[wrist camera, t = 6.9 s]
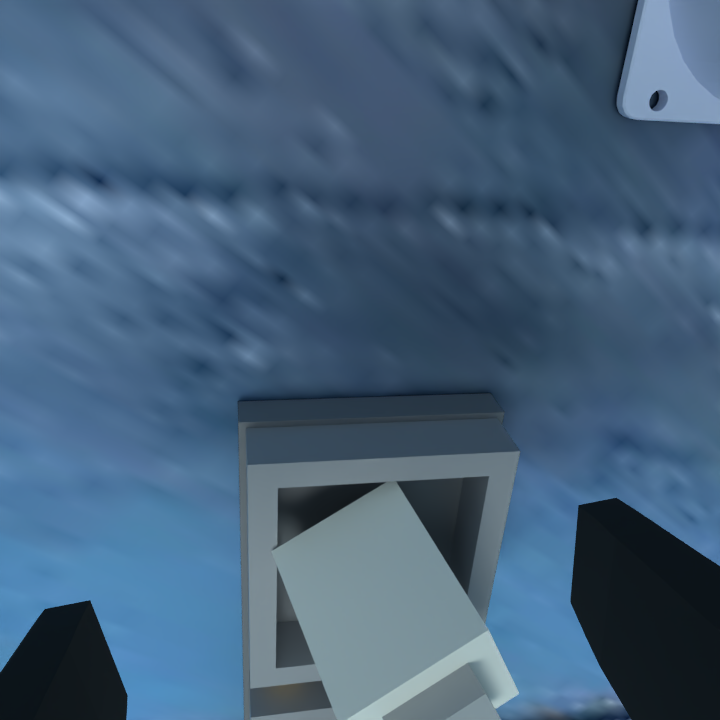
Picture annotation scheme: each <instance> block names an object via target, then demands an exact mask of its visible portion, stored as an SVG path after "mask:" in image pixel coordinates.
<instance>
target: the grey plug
mask: <svg viewBox="0 0 720 720" xmlns="http://www.w3.org/2000/svg"><path fill="white" fill-rule="evenodd" d="M271 552H272V554H273V557H274V559H275V562H276V565H277V567H278V570H279V572H280V575H281V577H282V580H283V583H284V585H285V588H286V590H287V593H288V595H289V598H290V601H291V603H292V606H293V608H294V611H295V613H296V616H297V619H298V621H299V624H300V626H301V629H302V631H303V634H304V637H305V639H306V642H307V644H308V647H309V649H310V652H311V655H312V657H313V660H314V662H315V665H316V667H317V670H318V673H319V675H320V678H321V680H322V683H323V685H324V688H325V691H326V693H327V696H328V698H329V701H330V703H331V706H332V709H333V711H334V714H335V716H336V719H337V720H501V718H500V716H499V715H498V713H497V711H496V708H498V707H499V706H501V705H502V704H504V703H506V702H507V701H509V700H510V699H512V698H513V697H515V696H516V695H518V694H519V692H518V690H517V688H516V686H515V684H514V682H513V680H512V677H511V675H510V673H509V671H508V669H507V667H506V665H505V663H504V661H503V659H502V657H501V655H500V653H499V651H498V648H497V646H496V644H495V642H494V640H493V638H492V636H491V634H490V632H489V630H488V628H487V627H486V625H485V623H484V622H483V620H482V619H481V617H480V615H479V614H478V612H477V611H476V609H475V607H474V606H473V604H472V603H471V601H470V599H469V598H468V596H467V595H466V593H465V591H464V590H463V588H462V587H461V585H460V583H459V582H458V580H457V578H456V577H455V575H454V574H453V572H452V570H451V569H450V567H449V566H448V564H447V562H446V561H445V559H444V558H443V556H442V554H441V553H440V551H439V550H438V548H437V546H436V545H435V543H434V542H433V540H432V538H431V537H430V535H429V534H428V532H427V530H426V529H425V527H424V526H423V524H422V522H421V521H420V519H419V518H418V516H417V514H416V513H415V511H414V509H413V508H412V506H411V505H410V503H409V501H408V500H407V498H406V497H405V495H404V493H403V492H402V490H401V489H400V487H399V485H398V484H397V482H396V481H395V482H386V483H384V484H383V485H381V486H379V487H378V488H376V489H374V490H373V491H371V492H369V493H368V494H366V495H364V496H363V497H361V498H359V499H358V500H356V501H354V502H353V503H351V504H349V505H348V506H346V507H344V508H343V509H341V510H339V511H338V512H336V513H334V514H333V515H331V516H329V517H328V518H326V519H324V520H323V521H321V522H319V523H318V524H316V525H314V526H313V527H311V528H309V529H308V530H306V531H304V532H303V533H301V534H299V535H298V536H296V537H294V538H293V539H291V540H289V541H288V542H286V543H284V544H283V545H281V546H279V547H278V548H276V549H274V550H273V551H271Z"/></svg>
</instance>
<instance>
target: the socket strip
mask: <svg viewBox="0 0 720 720" xmlns="http://www.w3.org/2000/svg"><path fill="white" fill-rule="evenodd" d="M503 417H504V411H503V410H502V408H501V407H500V406H499V404H498V403H497V401H496V400H495V399H494V397H493V396H492V394H491V393H482V394H451V395H420V396H390V397H359V398H328V399H298V400H267V401H238V437H239V487H240V537H241V587H242V637H243V687H244V720H337V719H336V716H335V714H334V711H333V709H332V706H331V703H330V701H329V698H328V696H327V693H326V691H325V688H324V685H323V683H322V680H321V678H320V675H319V673H318V670H317V667H316V665H315V662H314V660H313V657H312V655H311V652H310V649H309V647H308V644H307V642H306V639H305V637H304V634H303V631H302V629H301V626H300V624H299V621H298V619H297V616H296V613H295V611H294V608H293V606H292V603H291V601H290V598H289V595H288V593H287V590H286V588H285V585H284V583H283V580H282V577H281V575H280V572H279V570H278V567H277V565H276V562H275V559H274V557H273V554H272V552H271V551H273V550H274V549H276V548H278V547H279V546H281V545H283V544H284V543H286V542H288V541H289V540H291V539H293V538H294V537H296V536H298V535H299V534H301V533H303V532H304V531H306V530H308V529H309V528H311V527H313V526H314V525H316V524H318V523H319V522H321V521H323V520H324V519H326V518H328V517H329V516H331V515H333V514H334V513H336V512H338V511H339V510H341V509H343V508H344V507H346V506H348V505H349V504H351V503H353V502H354V501H356V500H358V499H359V498H361V497H363V496H364V495H366V494H368V493H369V492H371V491H373V490H374V489H376V488H378V487H379V486H381V485H383V484H384V483H386V482H395V481H396V482H397V484H398V485H399V487H400V489H401V490H402V492H403V493H404V495H405V497H406V498H407V500H408V501H409V503H410V505H411V506H412V508H413V509H414V511H415V513H416V514H417V516H418V518H419V519H420V521H421V522H422V524H423V526H424V527H425V529H426V530H427V532H428V534H429V535H430V537H431V538H432V540H433V542H434V543H435V545H436V546H437V548H438V550H439V551H440V553H441V554H442V556H443V558H444V559H445V561H446V562H447V564H448V566H449V567H450V569H451V570H452V572H453V574H454V575H455V577H456V578H457V580H458V582H459V583H460V585H461V587H462V588H463V590H464V591H465V593H466V595H467V596H468V598H469V599H470V601H471V603H472V604H473V606H474V607H475V609H476V611H477V612H478V614H479V615H480V617H481V619H482V620H483V622H484V623H485V621H486V616H487V611H488V607H489V602H490V597H491V592H492V587H493V582H494V577H495V572H496V567H497V563H498V558H499V553H500V548H501V543H502V538H503V533H504V528H505V523H506V519H507V514H508V509H509V504H510V499H511V494H512V489H513V484H514V480H515V475H516V470H517V465H518V460H519V455H520V450H519V449H518V447H517V446H516V444H515V443H514V442H513V440H512V439H511V437H510V436H509V434H508V433H507V431H506V430H505V429H504V427H503V426H502V423H503Z"/></svg>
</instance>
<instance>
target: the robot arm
mask: <svg viewBox="0 0 720 720" xmlns="http://www.w3.org/2000/svg"><path fill="white" fill-rule="evenodd" d="M656 91H657V92H658V93H659V101H658V103H657V105H656V106H655V107H654V108H653V109H651V108H650V106H649V100H650V98H651V96H652V94H653V93H654V92H656ZM617 108H618V111H619V113H620V114H621V115H622V116H623V117H627V118H630V119H635V120H650V121H669V122H689V123H708V124H720V0H638V4H637V9H636V13H635V18H634V22H633V27H632V31H631V36H630V40H629V45H628V50H627V54H626V59H625V63H624V68H623V72H622V77H621V81H620V86H619V90H618V95H617ZM571 604H572V606H573V609H574V611H575V613H576V615H577V618H578V620H579V622H580V624H581V627H582V629H583V631H584V633H585V636H586V638H587V640H588V642H589V644H590V646H591V648H592V651H593V653H594V655H595V657H596V659H597V661H598V663H599V665H600V667H601V669H602V671H603V672H604V674H605V676H606V677H607V679H608V681H609V683H610V684H611V686H612V688H613V689H614V691H615V693H616V694H617V696H618V698H619V699H620V701H621V703H622V704H623V706H624V708H625V709H626V711H627V713H628V714H629V716H630V718H631V719H632V720H720V566H719V565H717V564H716V563H714V562H712V561H711V560H709V559H708V558H706V557H705V556H703V555H702V554H700V553H699V552H697V551H696V550H694V549H693V548H691V547H690V546H688V545H687V544H685V543H684V542H682V541H681V540H679V539H678V538H676V537H675V536H673V535H672V534H670V533H669V532H667V531H666V530H664V529H663V528H661V527H660V526H659V525H657V524H656V523H654V522H653V521H651V520H650V519H648V518H647V517H645V516H644V515H642V514H641V513H639V512H638V511H636V510H635V509H633V508H631V507H630V506H628V505H627V504H625V503H624V502H622V501H621V500H619V499H617V498H613V499H608V500H603V501H598V502H593V503H588V504H582V505H579V507H578V519H577V531H576V543H575V554H574V566H573V578H572V590H571ZM126 714H127V693H126V691H125V688H124V686H123V683H122V680H121V678H120V675H119V673H118V670H117V668H116V665H115V663H114V660H113V658H112V655H111V652H110V650H109V647H108V645H107V642H106V640H105V637H104V635H103V632H102V629H101V627H100V624H99V622H98V619H97V617H96V614H95V612H94V609H93V607H92V604H91V601H90V600H89V601H84V602H79V603H74V604H69V605H64V606H59V607H53V608H48V609H45V610H44V611H43V612H42V614H41V615H40V616H39V617H38V619H37V620H36V622H35V623H34V625H33V626H32V627H31V629H30V630H29V632H28V633H27V635H26V636H25V637H24V639H23V640H22V642H21V643H20V645H19V646H18V648H17V649H16V651H15V652H14V654H13V655H12V656H11V658H10V659H9V661H8V662H7V664H6V665H5V667H4V668H3V670H2V671H1V672H0V720H126Z"/></svg>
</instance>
